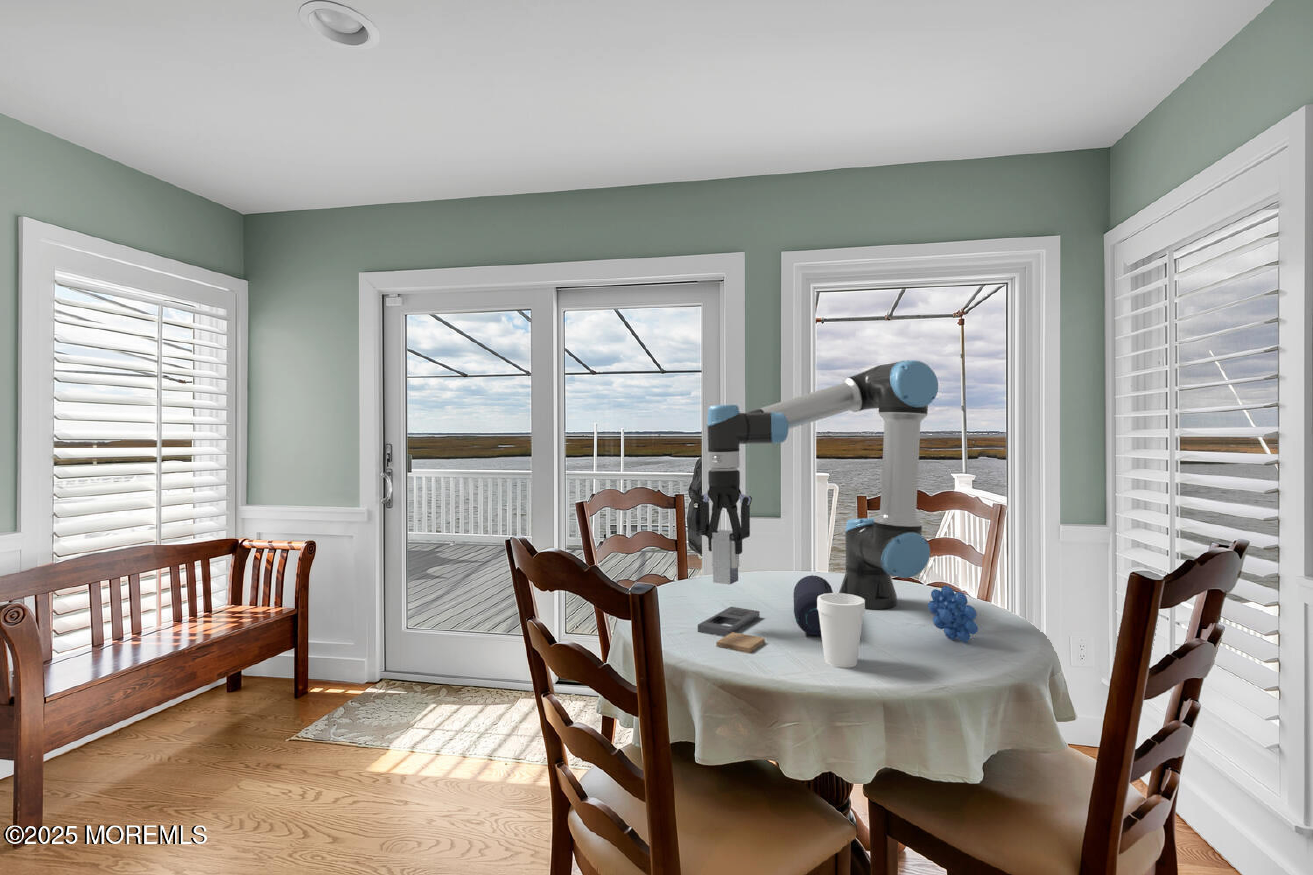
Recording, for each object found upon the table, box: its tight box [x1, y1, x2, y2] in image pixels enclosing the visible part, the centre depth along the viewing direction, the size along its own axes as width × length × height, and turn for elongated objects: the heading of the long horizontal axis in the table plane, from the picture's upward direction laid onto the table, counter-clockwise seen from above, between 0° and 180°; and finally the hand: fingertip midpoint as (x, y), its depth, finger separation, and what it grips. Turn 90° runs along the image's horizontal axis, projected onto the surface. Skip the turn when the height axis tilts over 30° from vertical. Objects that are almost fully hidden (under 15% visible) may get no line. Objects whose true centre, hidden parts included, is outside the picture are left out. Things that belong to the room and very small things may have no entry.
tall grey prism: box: [712, 529, 739, 585], centre depth 157 cm, size 4×4×12 cm
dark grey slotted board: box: [697, 606, 761, 637], centre depth 159 cm, size 8×18×2 cm, turn 148°
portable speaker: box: [793, 575, 834, 637], centre depth 160 cm, size 25×10×10 cm, turn 168°
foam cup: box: [817, 592, 866, 669], centre depth 134 cm, size 10×9×13 cm
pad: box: [716, 632, 766, 654], centre depth 145 cm, size 8×8×1 cm
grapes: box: [927, 585, 979, 643], centre depth 147 cm, size 12×7×12 cm, turn 36°
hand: (725, 565), depth 157 cm, fingers closed on tall grey prism, 4 cm apart
